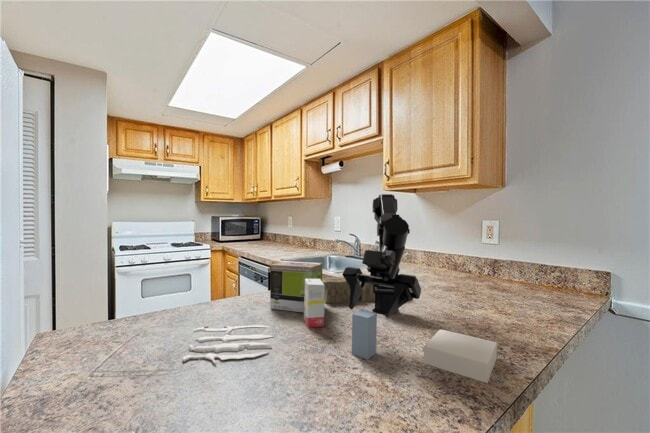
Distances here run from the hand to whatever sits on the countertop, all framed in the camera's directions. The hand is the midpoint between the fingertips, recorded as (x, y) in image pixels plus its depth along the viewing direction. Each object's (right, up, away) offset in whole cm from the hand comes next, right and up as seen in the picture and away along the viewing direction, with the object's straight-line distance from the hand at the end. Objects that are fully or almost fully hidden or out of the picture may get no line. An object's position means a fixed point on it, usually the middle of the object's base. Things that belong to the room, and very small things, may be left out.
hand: (367, 312), depth 68 cm
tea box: (-19, -9, +32) cm, 38 cm away
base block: (+19, -10, -4) cm, 22 cm away
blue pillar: (-1, -9, -1) cm, 9 cm away
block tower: (+3, -9, +43) cm, 44 cm away
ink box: (-13, -9, +18) cm, 24 cm away
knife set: (-39, -9, +3) cm, 41 cm away
